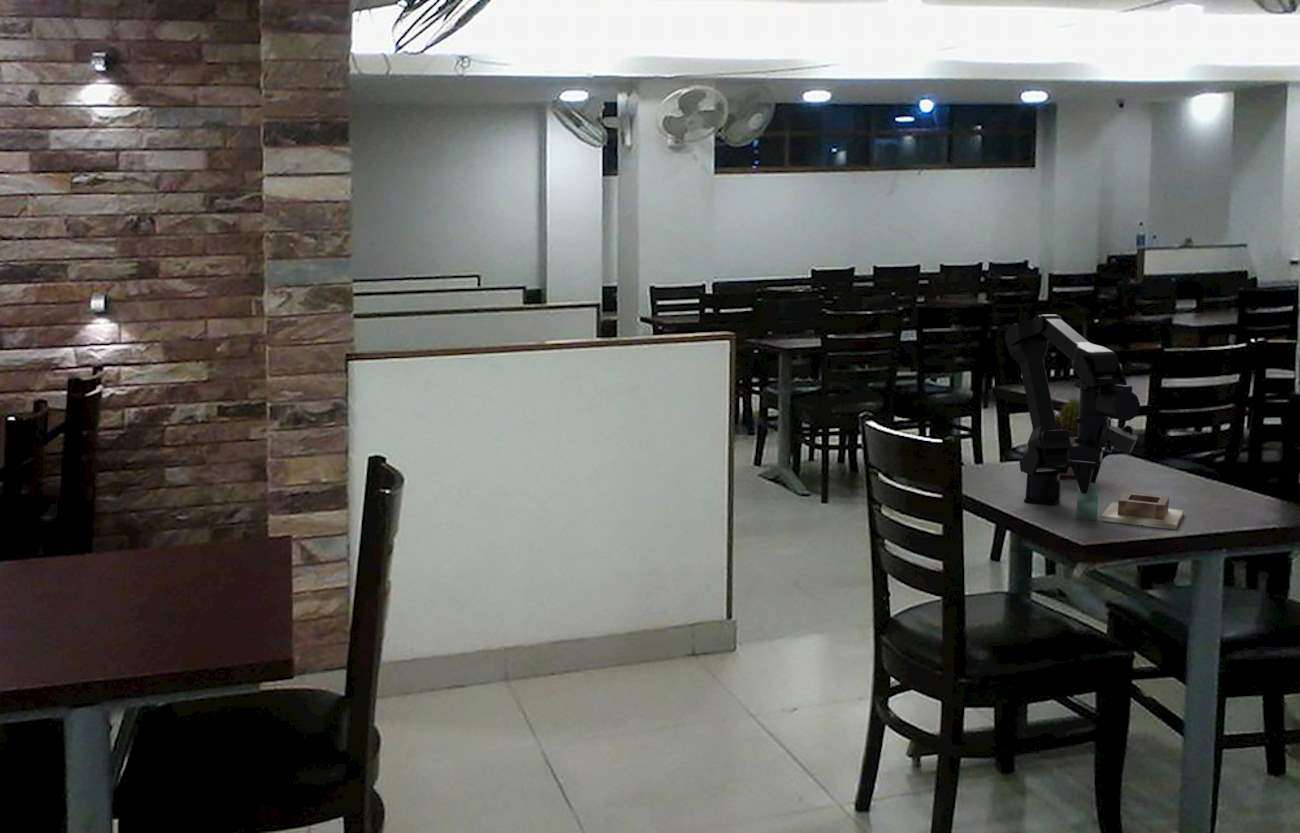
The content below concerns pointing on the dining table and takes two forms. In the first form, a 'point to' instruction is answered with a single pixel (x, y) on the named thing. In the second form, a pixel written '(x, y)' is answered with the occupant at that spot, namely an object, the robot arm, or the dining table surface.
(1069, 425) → the flowerpot
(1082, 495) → the peg
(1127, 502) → the socket board
